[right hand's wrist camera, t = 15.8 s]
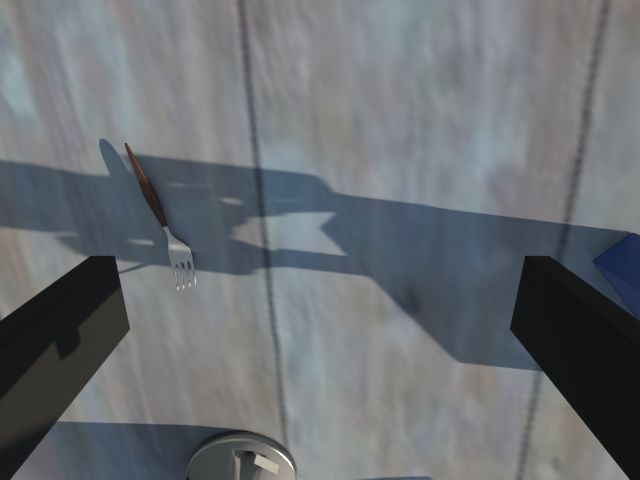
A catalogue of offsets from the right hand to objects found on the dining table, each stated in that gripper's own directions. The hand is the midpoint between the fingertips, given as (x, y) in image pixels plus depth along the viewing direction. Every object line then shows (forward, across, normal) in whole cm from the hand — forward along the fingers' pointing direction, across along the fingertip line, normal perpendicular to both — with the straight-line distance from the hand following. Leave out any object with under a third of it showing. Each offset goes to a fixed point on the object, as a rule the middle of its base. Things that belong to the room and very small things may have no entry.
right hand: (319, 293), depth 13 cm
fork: (+28, +17, +6) cm, 34 cm away
